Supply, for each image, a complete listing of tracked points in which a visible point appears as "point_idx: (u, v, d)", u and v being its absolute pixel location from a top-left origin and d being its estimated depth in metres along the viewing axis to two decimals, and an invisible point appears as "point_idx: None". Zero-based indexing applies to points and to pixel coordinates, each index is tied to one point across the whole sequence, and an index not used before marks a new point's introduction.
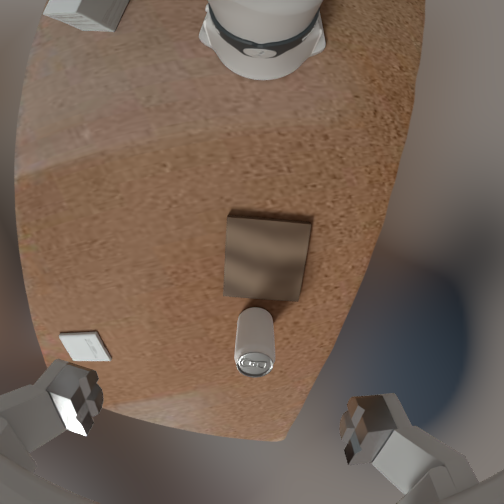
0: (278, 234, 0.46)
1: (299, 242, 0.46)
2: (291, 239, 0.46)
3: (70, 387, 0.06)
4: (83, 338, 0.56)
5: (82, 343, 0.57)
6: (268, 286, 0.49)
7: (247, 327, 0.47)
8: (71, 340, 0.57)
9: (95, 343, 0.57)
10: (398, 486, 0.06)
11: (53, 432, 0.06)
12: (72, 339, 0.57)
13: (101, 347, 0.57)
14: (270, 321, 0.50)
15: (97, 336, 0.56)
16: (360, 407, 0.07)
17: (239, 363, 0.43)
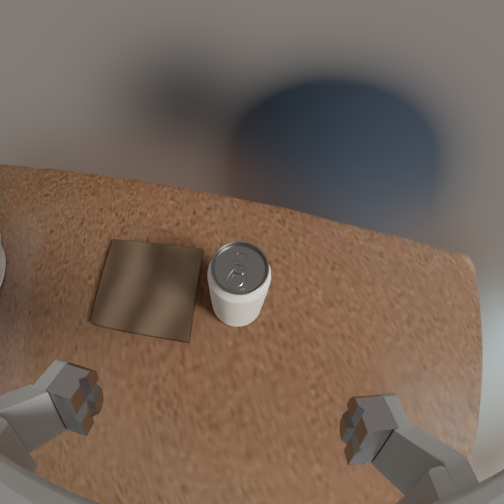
0: (116, 270, 0.38)
1: (128, 249, 0.40)
2: (123, 257, 0.39)
3: (70, 387, 0.06)
4: None
5: None
6: (177, 283, 0.38)
7: (211, 297, 0.32)
8: None
9: None
10: (398, 486, 0.06)
11: (53, 432, 0.06)
12: None
13: None
14: None
15: None
16: (360, 407, 0.07)
17: (238, 291, 0.27)
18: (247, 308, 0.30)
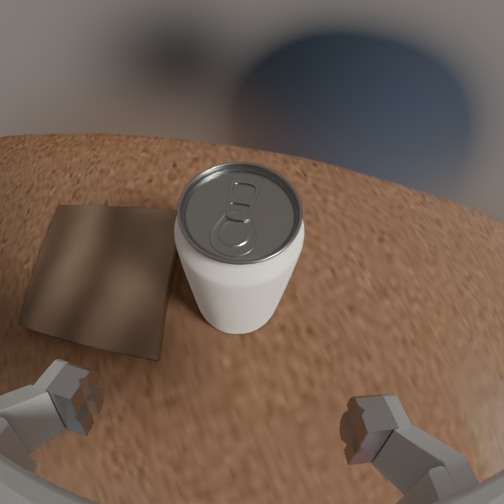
0: (57, 247, 0.23)
1: (76, 217, 0.25)
2: (69, 228, 0.24)
3: (70, 387, 0.06)
4: None
5: None
6: (140, 264, 0.23)
7: None
8: None
9: None
10: (398, 486, 0.06)
11: (53, 432, 0.06)
12: None
13: None
14: None
15: None
16: (360, 407, 0.07)
17: (237, 257, 0.12)
18: (257, 299, 0.15)
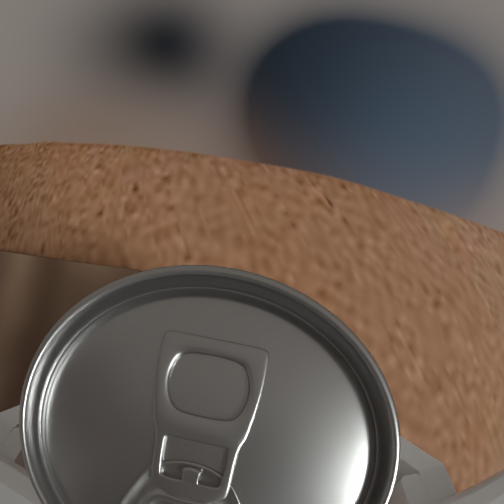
0: None
1: (4, 270, 0.15)
2: None
3: None
4: None
5: None
6: None
7: None
8: None
9: None
10: None
11: None
12: None
13: None
14: None
15: None
16: None
17: None
18: None
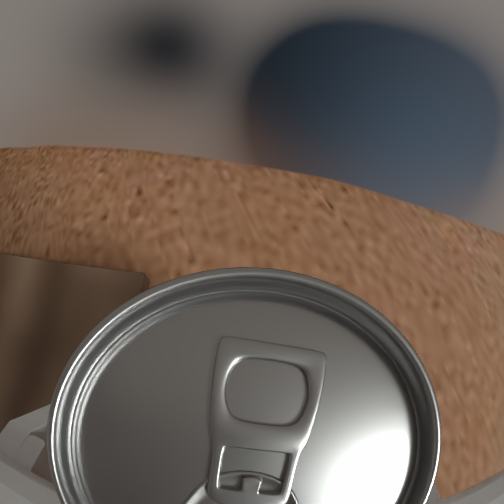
0: None
1: (9, 274, 0.15)
2: (1, 290, 0.15)
3: None
4: None
5: None
6: None
7: None
8: None
9: None
10: None
11: None
12: None
13: None
14: None
15: None
16: None
17: None
18: None
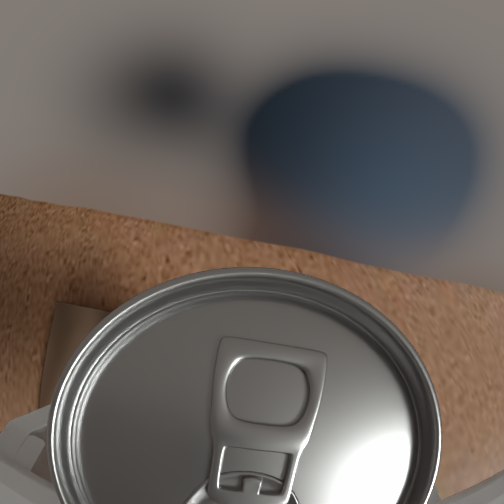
0: (62, 349, 0.23)
1: (76, 319, 0.25)
2: (71, 330, 0.24)
3: None
4: None
5: None
6: None
7: None
8: None
9: None
10: None
11: None
12: None
13: None
14: None
15: None
16: None
17: None
18: None
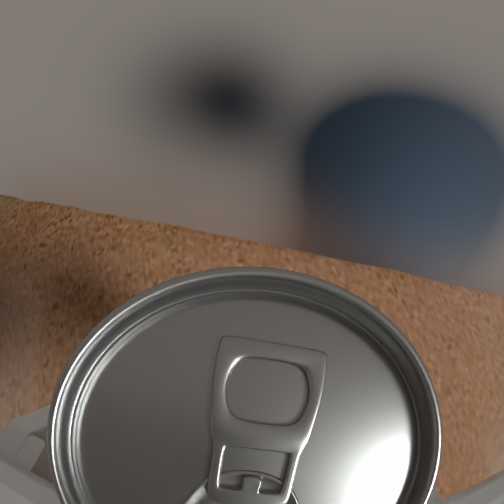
0: None
1: None
2: None
3: None
4: None
5: None
6: None
7: None
8: None
9: None
10: None
11: None
12: None
13: None
14: None
15: None
16: None
17: None
18: None
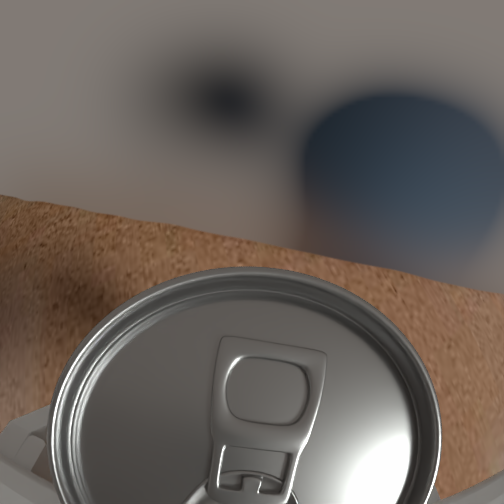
0: None
1: None
2: None
3: None
4: None
5: None
6: None
7: None
8: None
9: None
10: None
11: None
12: None
13: None
14: None
15: None
16: None
17: None
18: None
